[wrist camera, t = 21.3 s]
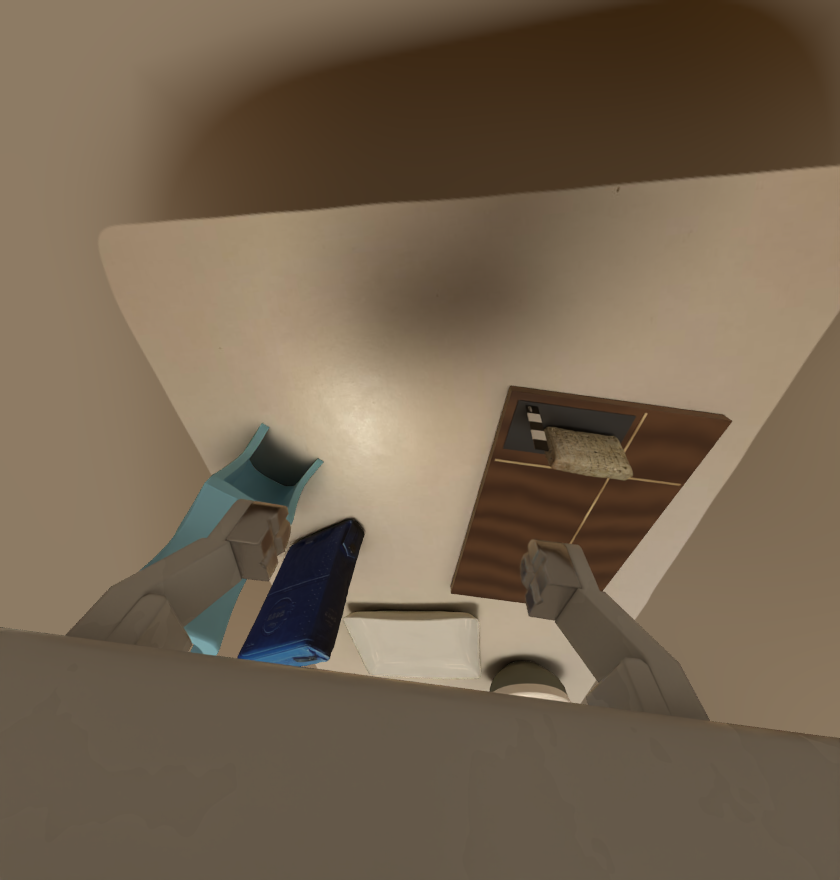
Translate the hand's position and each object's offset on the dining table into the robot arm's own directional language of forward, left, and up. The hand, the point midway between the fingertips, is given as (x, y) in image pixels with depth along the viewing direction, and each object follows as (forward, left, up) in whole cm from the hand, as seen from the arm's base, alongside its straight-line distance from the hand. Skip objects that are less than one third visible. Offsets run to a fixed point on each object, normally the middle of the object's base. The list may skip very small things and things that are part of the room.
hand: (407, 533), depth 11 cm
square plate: (+68, +6, -29) cm, 74 cm away
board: (+27, +23, -29) cm, 46 cm away
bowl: (+78, +33, -29) cm, 90 cm away
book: (+38, -13, -29) cm, 50 cm away
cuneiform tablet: (+10, +18, -28) cm, 34 cm away
